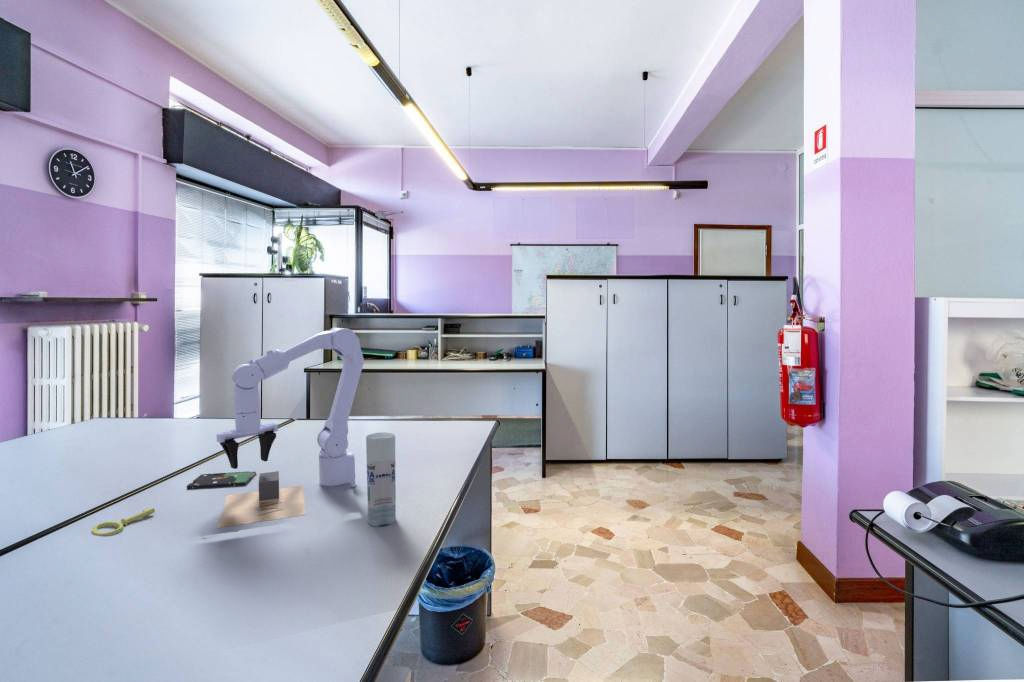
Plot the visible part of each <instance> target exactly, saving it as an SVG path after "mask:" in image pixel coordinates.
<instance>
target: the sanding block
mask: <svg viewBox="0 0 1024 682" xmlns="http://www.w3.org/2000/svg"><path fill="white" fill-rule="evenodd" d="M279 474H280V472H279V471H277V470H276V471H269V472H261V473H259V477H258V491H259V502H266V501H274V500H279V488H280V476H279Z"/></svg>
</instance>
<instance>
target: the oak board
mask: <svg viewBox="0 0 1024 682" xmlns="http://www.w3.org/2000/svg"><path fill="white" fill-rule="evenodd" d="M306 515H307V511H306V505H305V497H304V488H303V485H297V486H289V487H281V488H280V487H279V500H274V501H266V502H259V490H258V491H251V492H250V491H249V492H241V493H233V494H227V495H226V498H225V500H224V504H223V508H222V511H221V515H220V518H219V522H218V525H217V529H221V528H228V527H234V526H241V525H249V524H255V523H262V522H267V521H273V520H281V519H288V518H295V517H301V516H306Z"/></svg>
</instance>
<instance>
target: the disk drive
mask: <svg viewBox="0 0 1024 682" xmlns="http://www.w3.org/2000/svg"><path fill="white" fill-rule="evenodd" d="M256 476H257V472H256V471H235V472H218V473H217V472H216V473H202V474H200V475H198V477H196V478H195V479H193V481H192V482H191V483H189V484H187V485H186V491H188V490H196V489H197V490H198V489H210V488H211V489H213V488H215V489H216V488H226V487H227V488H228V487H246V486H247V485H248V484H249V483H250V482H251V481H252V480H253V479H254V477H256Z"/></svg>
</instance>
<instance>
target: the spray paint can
mask: <svg viewBox="0 0 1024 682" xmlns="http://www.w3.org/2000/svg"><path fill="white" fill-rule="evenodd" d="M365 443H366V444H365V448H366V451H365V452H366V453H365V454H366V490H367V493H366V494H367V523H368V524H369V525H370V526H373V527H386V526H389V525H392V524H394V523H395V521H396V519H397V517H396V516H397V513H396V512H397V510H396V507H397V506H396V505H397V503H396V501H397V500H396V497H397V496H396V495H397V494H396V491H397V490H396V488H397V487H396V434H395V433H392V432H375V433H369V434H368V435H366V436H365Z"/></svg>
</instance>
